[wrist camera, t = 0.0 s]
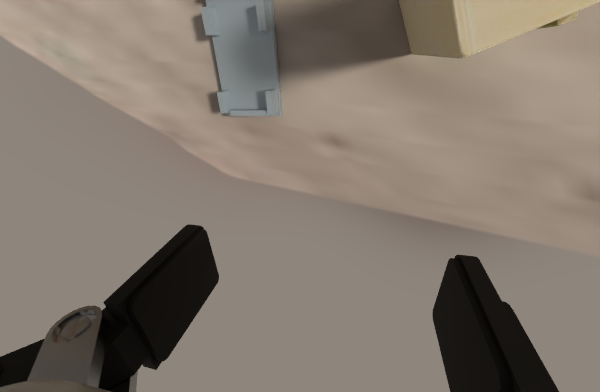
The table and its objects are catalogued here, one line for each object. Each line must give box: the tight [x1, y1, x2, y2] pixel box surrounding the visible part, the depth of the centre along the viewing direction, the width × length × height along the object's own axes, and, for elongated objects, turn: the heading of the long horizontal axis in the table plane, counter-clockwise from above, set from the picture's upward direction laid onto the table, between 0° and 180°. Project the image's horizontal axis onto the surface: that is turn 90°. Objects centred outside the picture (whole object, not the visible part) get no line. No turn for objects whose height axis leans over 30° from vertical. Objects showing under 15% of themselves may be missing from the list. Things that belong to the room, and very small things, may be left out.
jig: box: [200, 0, 282, 116], centre depth 33 cm, size 22×9×3 cm, turn 2°
